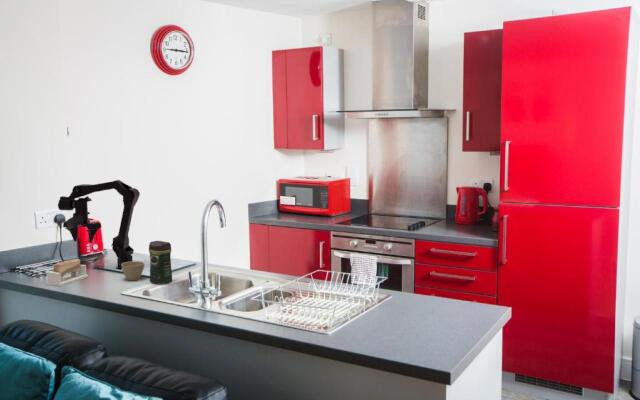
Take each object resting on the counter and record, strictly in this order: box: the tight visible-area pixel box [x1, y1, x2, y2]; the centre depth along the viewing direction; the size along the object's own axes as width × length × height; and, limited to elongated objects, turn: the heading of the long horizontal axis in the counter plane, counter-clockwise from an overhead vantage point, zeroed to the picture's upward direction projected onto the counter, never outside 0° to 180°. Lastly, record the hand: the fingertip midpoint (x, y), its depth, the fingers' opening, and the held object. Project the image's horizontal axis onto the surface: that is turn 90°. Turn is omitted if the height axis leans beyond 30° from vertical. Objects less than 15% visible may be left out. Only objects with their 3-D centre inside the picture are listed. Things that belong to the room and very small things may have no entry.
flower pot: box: [121, 260, 145, 281], centre depth 274 cm, size 10×10×7 cm
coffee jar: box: [148, 240, 173, 285], centre depth 268 cm, size 10×8×19 cm
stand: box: [45, 264, 89, 287], centre depth 271 cm, size 8×17×6 cm, turn 159°
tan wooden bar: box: [52, 258, 81, 276], centre depth 271 cm, size 4×12×4 cm, turn 159°
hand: (82, 242), depth 296 cm, fingers open, 9 cm apart
